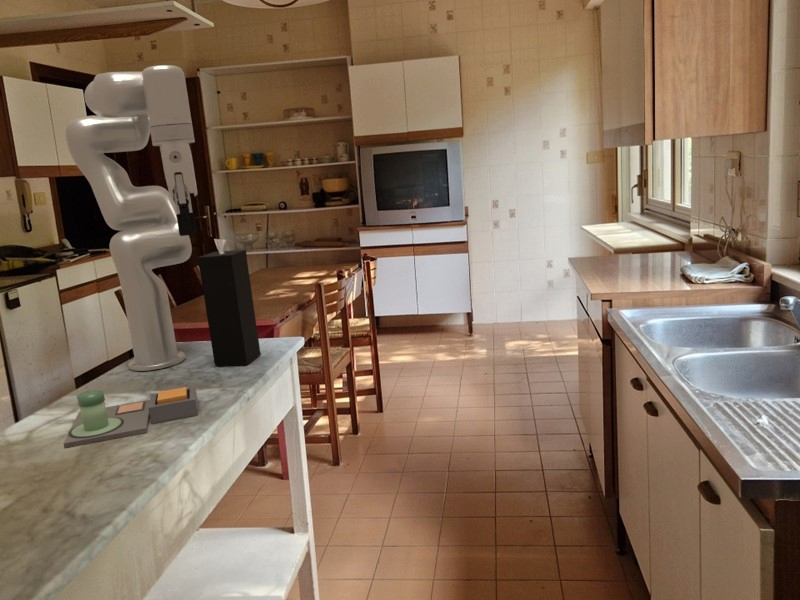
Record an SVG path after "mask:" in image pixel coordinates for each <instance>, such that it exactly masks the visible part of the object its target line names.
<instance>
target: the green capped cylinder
mask: <svg viewBox="0 0 800 600" xmlns="http://www.w3.org/2000/svg"><path fill="white" fill-rule="evenodd" d="M76 399H77V405H78V407H79V412H81V416H82V421H83V426H84V430H85V431H96V430H100V429H103V428H105V427H107V426H108V425H109V422H108V417H107V411H106V401H105V400H106V398H105V393H104V390H103V389H93V390H88V391H84V392H81V393H79V394H77V396H76Z"/></svg>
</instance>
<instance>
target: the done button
mask: <svg viewBox="0 0 800 600" xmlns="http://www.w3.org/2000/svg"><path fill="white" fill-rule="evenodd" d="M187 388H188V387H187V386H184V387H180V388H178V387H177V388H174V389H167V390H162V391H158V392H157V393H158V398H157V402H158V404H163V403H169V402H174V401H180V400H185V399H188V393H187Z"/></svg>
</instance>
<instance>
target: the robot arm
mask: <svg viewBox="0 0 800 600" xmlns="http://www.w3.org/2000/svg"><path fill="white" fill-rule="evenodd" d="M186 83H187V82H186V76H185V73H184V71H183V69H182V68H181V67H180V66H178V65H177V66H176V65H172V64H171V65H169V64H162V65H161V64H160V65H153V66H147V67H146V68H144V69H143V70H142V71H109V72H103V73H98V74H96V75H95V76H94V78H93V80H92V81H91V82H90V83H89V84H88V85H87V86H86V88H85V90H84V95H83V97H84V101H85V104H86V106H87V107H88V109H89V110H90V111H91V112H93V114H95V115H85V116H81V117H77V118H74V119H72V120H71V121H70V122H69V121H68V123H67V125H66V128H65V141H66V146H67V148H68V152H69V154H70V157H71V158H72V160H73V162H74V163H75V165H76V167H77V168H78V169H79V170H80V172H81V173H82V174H83V175H84V177H85V179H86V180H87V181H88V183H89V185H90V186H91V190H92V192H93V195H94V197H95V199H96V202H97V205H98V207H99V209H100V212H101V215H102V216H103V219H104V221H105V223H106V225H108V227H110V229H112V230H115V231H118V232H116V234H114V235H113V236H112V237H111V238H110V240H109V241H110V242H109V252H110V256H111V258H112V261H113V264H114V267H115V269H116V272H117V277H118V279H119V284H120V288H121V292H122V297H123V302H124V307H125V312H126V313H125V314H126V318H127V325H128V329H129V336H130V340H131V346H132V352H133V356H134V358H133V359H131V360H129V362H128V369H130V370H131V371H135V372H144V371H146V372H149V371H154V370H155V371H156V370H160V369H165V368H168V367H172V366H175V365H177V364H179V363H182V362H184V360H185V359H186V353H185V352H183V351H181V350H178V349H177V342H176V336H175V335H176V334H175V330H174V324H173V323H174V322H173V318H172V313H171V305H170V301H169V295H168V290H167V286H166V284H165V283H164V281H163V280H162V279H161V278H160V277H159V276H157V274H155V273H154V271H153V270H154V269H157V268H161V267H168V266H173V265H177V264H182V263H184V262H187V261H188V260H189V259H190V258H191V256H192V252H193V251H192V250H193V247H192V243H191V238H190V236H194V235H196V234H197V233H198V229H197V224H196V219H195V213H194V212H193V207H192V200H191V196H190V195H191V194H193V196H194V197H196V196H197V195H198V188H197V180H196V174H195V168H194V161H193V155H192V150H191V147H190V144H193V143H195V142H196V141H195V140H196V139H195V135H194V127H193V122H192V116H191V109H190V102H189V95H188V89H187V84H186ZM150 137H151V144H152V146H153V147H159V151H160V154H161V155H160V156H161V161H162V167H163V173H164V179H165V181H166V186H167V189H168V190H167V189H166V188H164V187H163V186H159V185H146V186H145V185H144V186H134V185H133V184H132V182H131V179H130V177H129V174H128V173H127V171H126V170H125V168H124V167H122V166H121V165H120V164H119V163H117V162H116V161H115V160H113V159H112V158H110V157H108V156H106V155H105V153H106V154H108V153H109V154H110V153H123V152H135V151H141V150H143V149H144V148H145V147H146V146H147V145H148V143H149V140H150V139H149V138H150Z"/></svg>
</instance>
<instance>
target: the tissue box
mask: <svg viewBox="0 0 800 600" xmlns="http://www.w3.org/2000/svg"><path fill="white" fill-rule="evenodd" d="M213 240H214V243H215V246H216V249H217V251H213V252H210V253H207V254H204V255H201V256H198V257H197V264H198V267H199V274H200V281H201V285H202V292H203V293H202V294H203V299H204V306H205V311H206V312H205V313H206V318H207V324H208V331H209V336H210V337H209V338H210V344H211V349H212V356H213V362H214V366H215V367H225V366H227V367H230V366H231V367H232V366H247V365H248V366H249V365H250V364H251V363H252V362H254V361H255V360H256V359H258V358H259V357H260V356H261V348H260V342H259V333H258V326H257V320H256V319H257V318H256V311H255V306H254V300H253V293H252V292H253V291H252V285H251V278H250V273H249V272H250V270H249V264H248V259H247V258H248V255H247V249H238V250H236V249H235V250H226V247H227V243H228V239H223V238H218V239H217V238H214V239H213Z"/></svg>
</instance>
